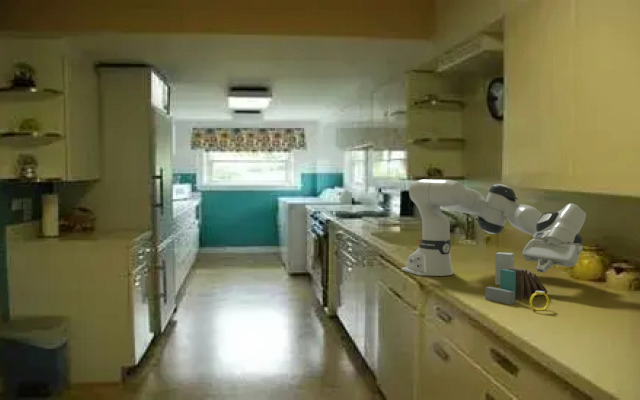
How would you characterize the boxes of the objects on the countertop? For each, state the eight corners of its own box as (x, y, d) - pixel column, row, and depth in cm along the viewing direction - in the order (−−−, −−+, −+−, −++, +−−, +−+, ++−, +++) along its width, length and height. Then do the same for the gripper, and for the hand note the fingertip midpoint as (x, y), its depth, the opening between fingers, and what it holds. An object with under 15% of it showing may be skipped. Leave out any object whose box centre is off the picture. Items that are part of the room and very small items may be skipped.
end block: (485, 299, 211) (485, 287, 210) (490, 298, 212) (490, 286, 212) (509, 304, 202) (509, 292, 202) (514, 303, 204) (514, 291, 204)
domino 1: (512, 301, 207) (512, 271, 206) (499, 298, 211) (500, 269, 210) (515, 301, 208) (515, 271, 207) (503, 298, 212) (503, 269, 211)
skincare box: (513, 284, 236) (514, 253, 235) (511, 286, 233) (511, 254, 232) (497, 283, 239) (498, 251, 239) (494, 285, 236) (495, 253, 235)
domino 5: (545, 295, 217) (533, 277, 213) (533, 292, 221) (520, 275, 217) (547, 291, 218) (535, 273, 213) (535, 289, 222) (522, 271, 217)
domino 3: (529, 298, 212) (523, 271, 210) (517, 295, 216) (511, 269, 214) (532, 296, 213) (526, 269, 211) (520, 293, 217) (514, 267, 215)
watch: (545, 309, 197) (547, 291, 197) (550, 311, 194) (551, 292, 194) (527, 308, 196) (529, 290, 196) (531, 310, 193) (533, 291, 193)
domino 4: (537, 296, 215) (527, 274, 211) (525, 294, 219) (515, 272, 215) (540, 293, 215) (530, 271, 212) (527, 291, 219) (518, 269, 216)
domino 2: (520, 300, 210) (520, 270, 209) (508, 297, 214) (508, 268, 213) (523, 299, 210) (523, 269, 210) (511, 296, 215) (511, 267, 214)
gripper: (588, 250, 217) (570, 281, 212) (538, 244, 234) (520, 272, 229) (581, 238, 214) (563, 269, 209) (530, 232, 231) (512, 261, 226)
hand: (540, 271), depth 219 cm, fingers closed
